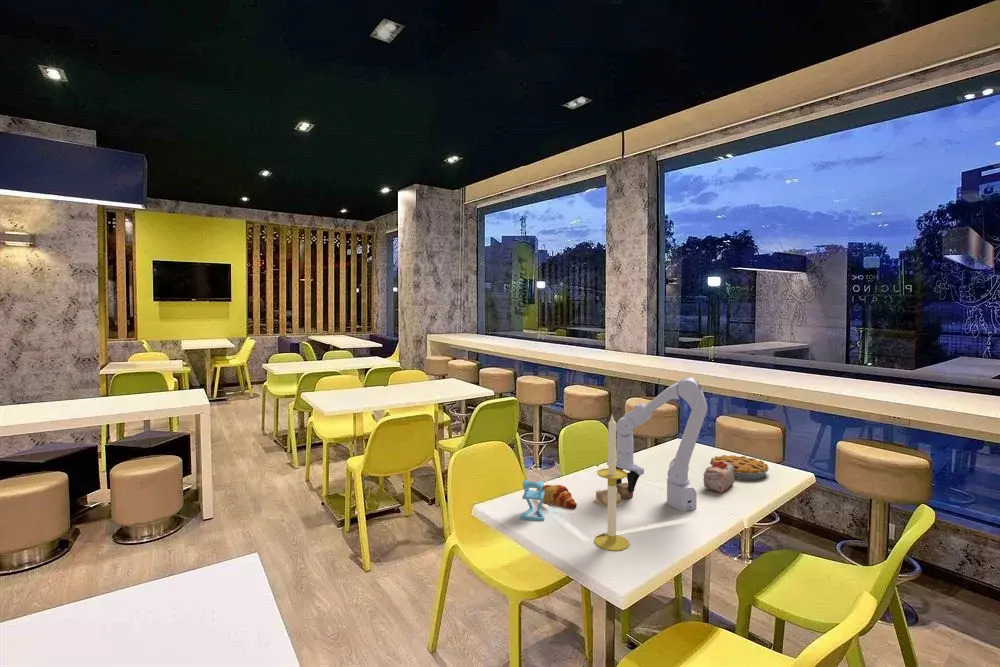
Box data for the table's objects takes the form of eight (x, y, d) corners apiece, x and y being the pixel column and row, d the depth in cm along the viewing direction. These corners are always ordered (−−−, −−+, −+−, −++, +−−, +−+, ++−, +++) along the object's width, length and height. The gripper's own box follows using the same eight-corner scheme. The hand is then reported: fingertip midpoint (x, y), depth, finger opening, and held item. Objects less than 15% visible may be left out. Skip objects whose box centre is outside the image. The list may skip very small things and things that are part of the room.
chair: (546, 511, 167) (546, 475, 167) (544, 521, 159) (543, 483, 159) (524, 509, 169) (524, 474, 168) (520, 519, 161) (519, 482, 160)
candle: (624, 534, 149) (624, 410, 148) (634, 550, 139) (634, 417, 138) (590, 535, 149) (591, 410, 147) (598, 551, 139) (598, 417, 137)
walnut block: (633, 497, 175) (633, 486, 175) (623, 499, 173) (623, 487, 173) (626, 493, 179) (626, 482, 178) (616, 495, 177) (616, 483, 177)
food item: (724, 495, 180) (724, 468, 180) (701, 490, 186) (702, 464, 185) (736, 485, 190) (736, 459, 190) (714, 480, 196) (714, 455, 195)
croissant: (531, 504, 182) (523, 487, 180) (550, 486, 187) (542, 469, 185) (569, 523, 164) (560, 505, 162) (589, 503, 169) (581, 485, 167)
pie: (774, 471, 206) (775, 459, 206) (760, 485, 190) (760, 472, 190) (719, 461, 221) (719, 450, 221) (701, 473, 205) (702, 461, 204)
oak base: (620, 503, 170) (620, 494, 169) (605, 506, 168) (605, 497, 167) (610, 497, 175) (610, 489, 175) (595, 499, 173) (596, 491, 173)
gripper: (649, 454, 172) (649, 493, 173) (616, 445, 183) (615, 481, 184) (636, 457, 168) (636, 497, 168) (603, 448, 179) (603, 486, 180)
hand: (624, 489), depth 176 cm, fingers closed on walnut block, 5 cm apart
